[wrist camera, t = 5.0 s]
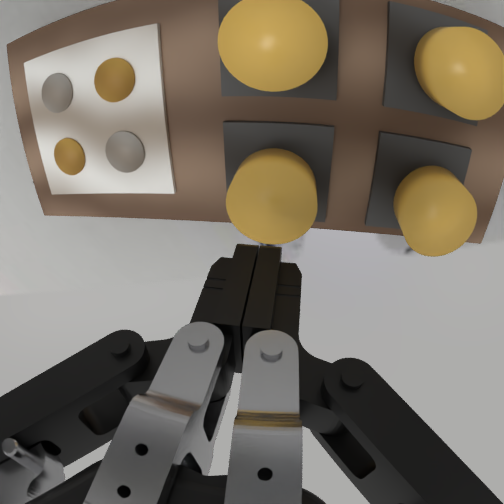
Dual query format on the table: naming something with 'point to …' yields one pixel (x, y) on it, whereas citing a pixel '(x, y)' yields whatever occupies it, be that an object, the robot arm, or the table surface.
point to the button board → (240, 113)
